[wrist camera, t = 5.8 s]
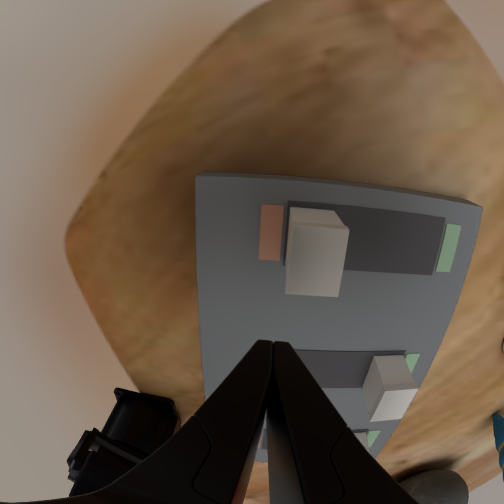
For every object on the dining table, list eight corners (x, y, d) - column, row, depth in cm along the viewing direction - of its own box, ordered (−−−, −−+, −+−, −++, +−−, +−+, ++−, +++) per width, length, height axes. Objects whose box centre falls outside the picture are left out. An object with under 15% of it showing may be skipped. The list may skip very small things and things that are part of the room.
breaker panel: (214, 442, 28) (211, 457, 26) (203, 171, 18) (194, 176, 16) (371, 446, 27) (374, 460, 25) (467, 200, 17) (484, 207, 15)
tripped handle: (284, 262, 17) (285, 293, 14) (289, 205, 16) (292, 225, 13) (327, 265, 17) (337, 297, 14) (335, 209, 16) (349, 229, 12)
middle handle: (361, 386, 20) (370, 421, 17) (373, 355, 19) (385, 391, 16) (390, 385, 20) (401, 418, 17) (403, 354, 19) (418, 388, 16)
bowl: (361, 501, 35) (365, 547, 26) (390, 466, 29) (400, 525, 20) (433, 486, 34) (443, 527, 24) (472, 445, 28) (489, 493, 19)
